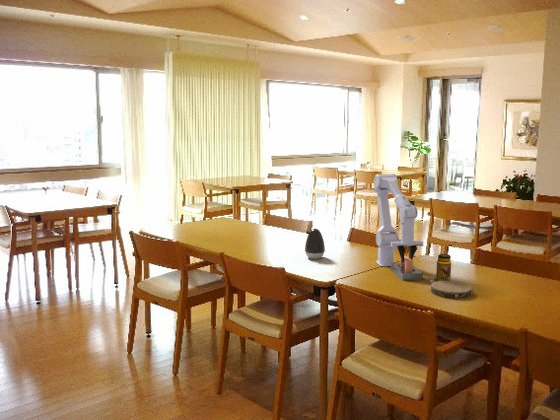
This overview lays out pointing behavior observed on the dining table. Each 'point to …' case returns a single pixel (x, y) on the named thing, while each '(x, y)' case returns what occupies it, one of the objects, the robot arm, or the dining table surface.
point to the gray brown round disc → (451, 289)
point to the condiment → (443, 268)
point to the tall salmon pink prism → (407, 264)
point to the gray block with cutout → (406, 275)
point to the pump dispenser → (314, 244)
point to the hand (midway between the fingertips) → (406, 261)
